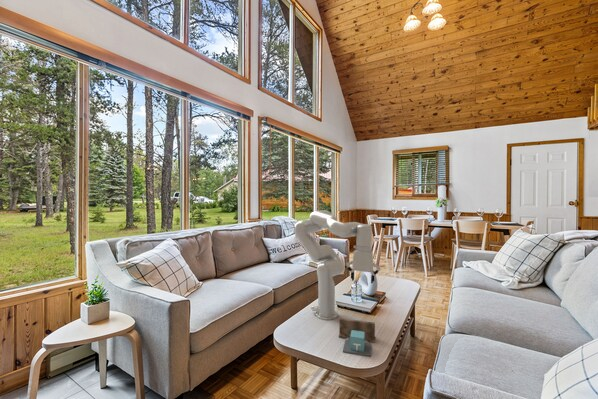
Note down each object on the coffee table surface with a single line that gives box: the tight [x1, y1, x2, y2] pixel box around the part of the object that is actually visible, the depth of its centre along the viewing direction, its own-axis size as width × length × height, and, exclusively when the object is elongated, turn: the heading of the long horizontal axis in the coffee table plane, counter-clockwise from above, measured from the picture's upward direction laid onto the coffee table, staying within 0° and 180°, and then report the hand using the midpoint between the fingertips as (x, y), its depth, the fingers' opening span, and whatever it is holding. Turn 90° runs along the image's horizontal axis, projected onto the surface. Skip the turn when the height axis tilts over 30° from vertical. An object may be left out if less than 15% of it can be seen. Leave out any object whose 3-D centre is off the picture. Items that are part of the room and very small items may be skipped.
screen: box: [338, 317, 376, 344], centre depth 137 cm, size 17×6×8 cm, turn 74°
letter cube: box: [349, 330, 366, 352], centre depth 127 cm, size 6×6×6 cm
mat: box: [342, 339, 372, 357], centre depth 127 cm, size 12×10×1 cm
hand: (362, 281), depth 143 cm, fingers open, 9 cm apart
